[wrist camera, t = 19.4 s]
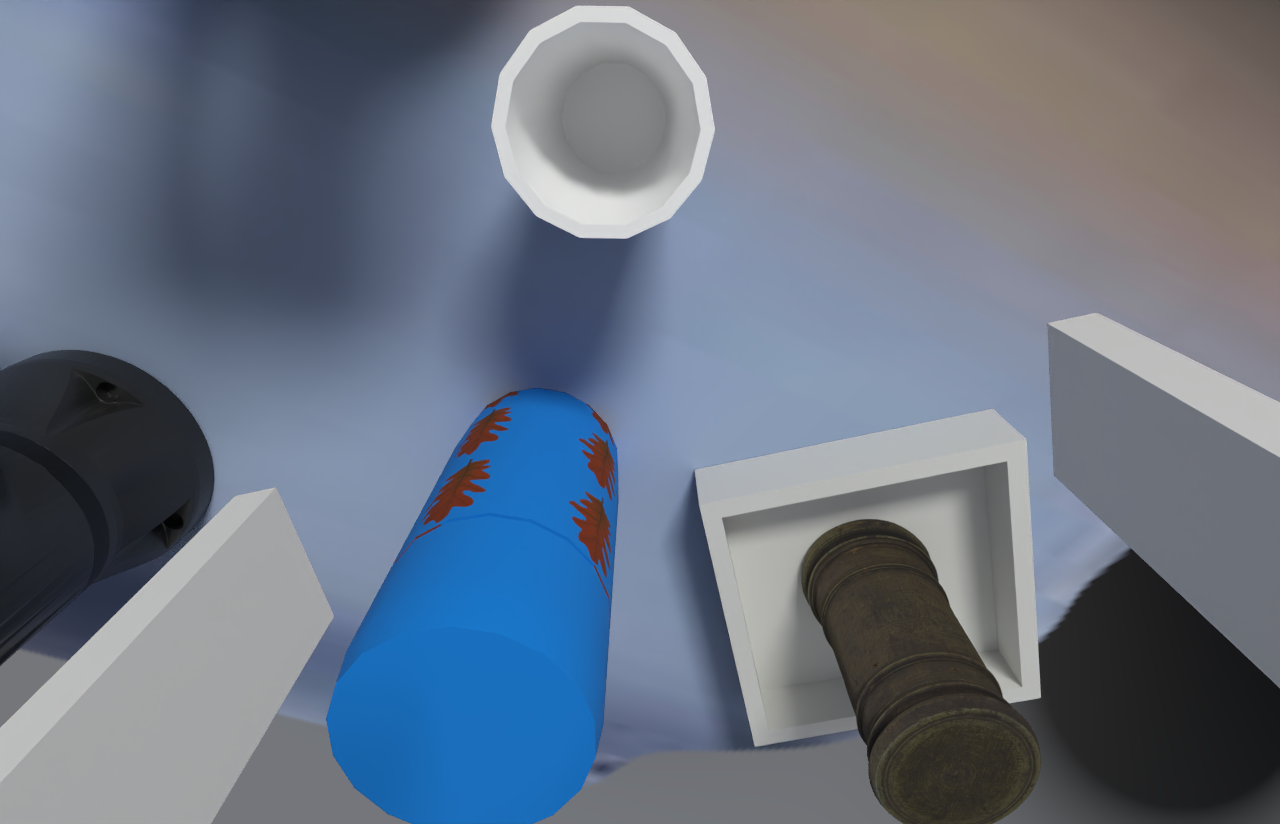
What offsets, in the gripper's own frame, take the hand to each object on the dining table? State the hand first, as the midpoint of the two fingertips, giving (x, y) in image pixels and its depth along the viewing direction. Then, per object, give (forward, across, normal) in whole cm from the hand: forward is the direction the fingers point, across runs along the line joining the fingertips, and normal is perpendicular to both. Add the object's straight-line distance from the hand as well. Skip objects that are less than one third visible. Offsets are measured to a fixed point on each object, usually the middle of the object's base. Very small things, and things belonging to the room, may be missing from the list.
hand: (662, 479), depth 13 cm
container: (+36, +9, -28) cm, 46 cm away
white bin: (+37, +9, -28) cm, 47 cm away
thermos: (+37, -11, -15) cm, 41 cm away
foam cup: (+37, -1, +5) cm, 37 cm away
